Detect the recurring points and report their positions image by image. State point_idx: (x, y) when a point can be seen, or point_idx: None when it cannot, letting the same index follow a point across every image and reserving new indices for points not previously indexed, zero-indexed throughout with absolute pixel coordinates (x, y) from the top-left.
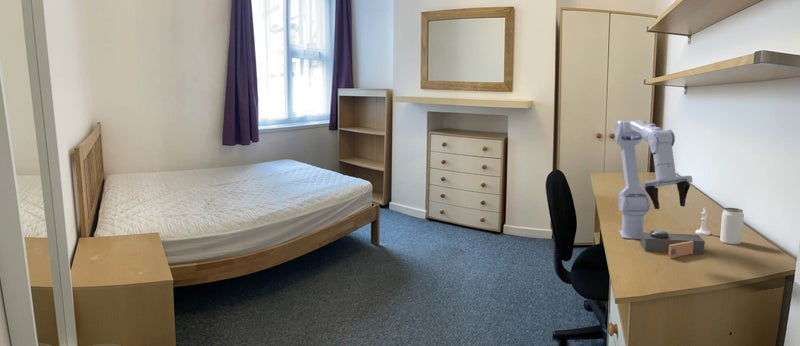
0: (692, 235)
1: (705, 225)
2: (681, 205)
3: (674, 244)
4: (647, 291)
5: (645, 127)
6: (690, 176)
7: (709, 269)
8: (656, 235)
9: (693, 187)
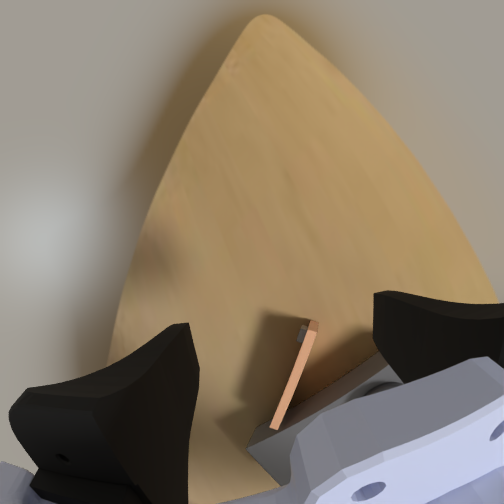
0: None
1: None
2: (179, 324)
3: (305, 353)
4: (235, 51)
5: None
6: None
7: (192, 306)
8: (389, 386)
9: None
